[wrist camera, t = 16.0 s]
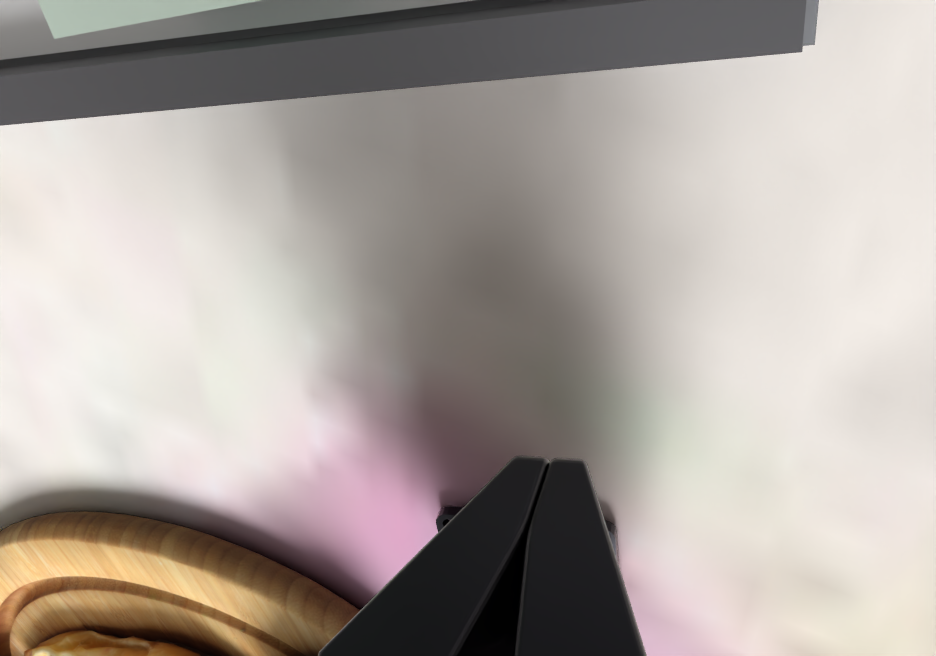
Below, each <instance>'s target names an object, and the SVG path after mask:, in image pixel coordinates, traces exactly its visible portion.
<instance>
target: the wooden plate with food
mask: <svg viewBox="0 0 936 656" xmlns="http://www.w3.org/2000/svg"><path fill="white" fill-rule="evenodd" d="M359 611H360V610H359V609H358V608H356V607H354V606H353V605H351V604H350V603H348V602H347V601H345V600H344V599H342V598H340V597H339V596H337V595H336V594H334V593H333V592H331V591H329V590H328V589H326V588H325V587H323V586H321V585H319V584H318V583H316V582H314V581H312V580H311V579H309V578H307V577H305V576H303V575H301V574H299V573H297V572H295V571H293V570H291V569H289V568H287V567H285V566H283V565H281V564H279V563H277V562H275V561H273V560H270V559H268V558H266V557H264V556H262V555H260V554H257V553H255V552H253V551H250V550H248V549H246V548H243V547H240V546H238V545H235V544H233V543H230V542H227V541H225V540H222V539H219V538H217V537H214V536H211V535H209V534H206V533H203V532H199V531H196V530H193V529H190V528H186V527H182V526H178V525H175V524H171V523H166V522H162V521H157V520H153V519H147V518H142V517H136V516H131V515H125V514H116V513H104V512H89V511H79V512H61V513H52V514H46V515H42V516H37V517H33V518H29V519H26V520H23V521H20V522H17V523H14V524H12V525H10V526H8V527H7V528H5V529H3V530H1V531H0V656H318V653H319V651H320V650H321V649H322V648H323V647H324V646H325V645H326V644H327V643H328V642H329V641H330V640H331V639H332V638H333V637H334V636H335V635H336V634H337V633H338V632H339V631H340V630H341V629H342V628H343V627H344V626H345V625H346V624H347V623H348V622H349V621H350V620H351V619H352V618H353V617H354V616H355V615H356V614H357V613H358V612H359Z"/></svg>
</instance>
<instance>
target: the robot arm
mask: <svg viewBox="0 0 936 656" xmlns="http://www.w3.org/2000/svg"><path fill="white" fill-rule="evenodd" d="M448 519H449V520H448ZM436 525H437V529H438V533H437V534H436V535H435V536H434V537H433V538H432V539H431V540H430V541H429V542H428V543H427V544H426V545H425V546H424V547H423V548H422V549H421V550H420V551H419V552H418V553H417V554H416V555H415V556H414V557H413V558H412V559H411V560H410V561H409V562H408V563H407V564H406V565H405V566H404V567H403V568H402V569H401V570H400V571H399V572H398V573H397V574H396V575H395V576H394V577H393V578H392V579H391V580H390V581H389V582H388V583H387V584H386V585H385V586H384V587H383V588H382V589H381V590H380V591H379V592H378V593H377V594H376V595H375V596H374V597H373V598H372V599H371V600H370V601H369V602H368V603H367V604H366V605H365V606H364V607H363V608H362V609H361V610H360V611H359V612H358V613H357V614H356V615H355V616H354V617H353V618H352V619H351V620H350V621H349V622H348V623H347V624H346V625H345V626H344V627H343V628H342V629H341V630H340V631H339V632H338V633H337V634H336V635H335V636H334V637H333V638H332V639H331V640H330V641H329V642H328V643H327V644H326V645H325V646H324V647H323V648H322V649H321V650H320V651H319V653H318V656H647V655H646V652H645V649H644V646H643V642H642V639H641V636H640V633H639V629H638V626H637V623H636V620H635V617H634V613H633V610H632V607H631V604H630V600H629V597H628V594H627V591H626V588H625V584H624V581H623V578H622V575H621V571H620V568H619V565H618V549H617V531H616V528H615V526H614V525H613V524H612V523H611V522H609V521H607V520H604V517H603V513H602V510H601V507H600V504H599V500H598V497H597V494H596V491H595V487H594V484H593V481H592V478H591V475H590V471H589V468H588V465H587V463H586V462H585V461H584V460H581V459H566V458H554V459H553V460H551V462H550V461H549V460H548V459H547V458H545V457H534V456H516V457H514V458H513V459H512V460H511V461H510V462H509V463H508V464H507V465H506V466H505V467H504V468H503V469H502V470H501V471H500V472H499V473H498V474H497V475H496V476H495V477H494V478H493V479H492V480H491V481H490V482H489V483H488V484H487V485H486V486H485V487H484V488H483V489H482V490H481V491H480V492H479V493H478V494H477V495H476V496H475V497H474V498H473V499H471V500H470V501H469V502H468V503H467V504H466V505H465V506H464V507H451V506H449V507H444V508H441V510H440V511H439V514H438V516H437V519H436Z"/></svg>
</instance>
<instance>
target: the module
mask: <svg viewBox="0 0 936 656" xmlns="http://www.w3.org/2000/svg"><path fill="white" fill-rule="evenodd" d="M256 1H261V0H38V3H39V5H40V7H41V9H42V12H43V14H44V16H45V19H46V21H47V23H48V26H49V28H50V30H51V32H52V35H53V37H54V39H56V38H61V37H67V36H72V35H78V34H83V33H89V32H94V31H99V30H105V29H110V28H116V27H121V26H126V25H132V24H137V23H143V22H148V21H153V20H159V19H164V18H170V17H175V16H180V15H186V14H191V13H197V12H202V11H207V10H213V9H218V8H224V7H229V6H234V5H240V4H245V3H251V2H256Z"/></svg>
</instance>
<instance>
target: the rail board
mask: <svg viewBox="0 0 936 656" xmlns="http://www.w3.org/2000/svg"><path fill="white" fill-rule="evenodd" d="M818 4H819V0H261V1H256V2H251V3H245V4H240V5H234V6H229V7H224V8H218V9H213V10H207V11H202V12H197V13H191V14H186V15H180V16H175V17H170V18H164V19H159V20H153V21H148V22H143V23H137V24H132V25H126V26H121V27H116V28H110V29H105V30H99V31H94V32H89V33H83V34H78V35H72V36H67V37H61V38H56V39H54V37H53V35H52V32H51V30H50V28H49V26H48V23H47V21H46V19H45V16H44V14H43V12H42V9H41V7H40V5H39V3H38V0H0V125H11V124H22V123H33V122H43V121H54V120H65V119H76V118H87V117H98V116H109V115H120V114H131V113H142V112H153V111H163V110H174V109H185V108H196V107H207V106H218V105H229V104H240V103H251V102H262V101H273V100H283V99H294V98H305V97H316V96H327V95H338V94H349V93H360V92H371V91H382V90H393V89H403V88H414V87H425V86H436V85H447V84H458V83H469V82H480V81H491V80H502V79H513V78H523V77H534V76H545V75H556V74H567V73H578V72H589V71H600V70H611V69H622V68H632V67H643V66H654V65H665V64H676V63H687V62H698V61H709V60H720V59H731V58H742V57H752V56H763V55H774V54H785V53H796V52H802V47H803V46H805V45H815V35H816V25H817V14H818Z"/></svg>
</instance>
